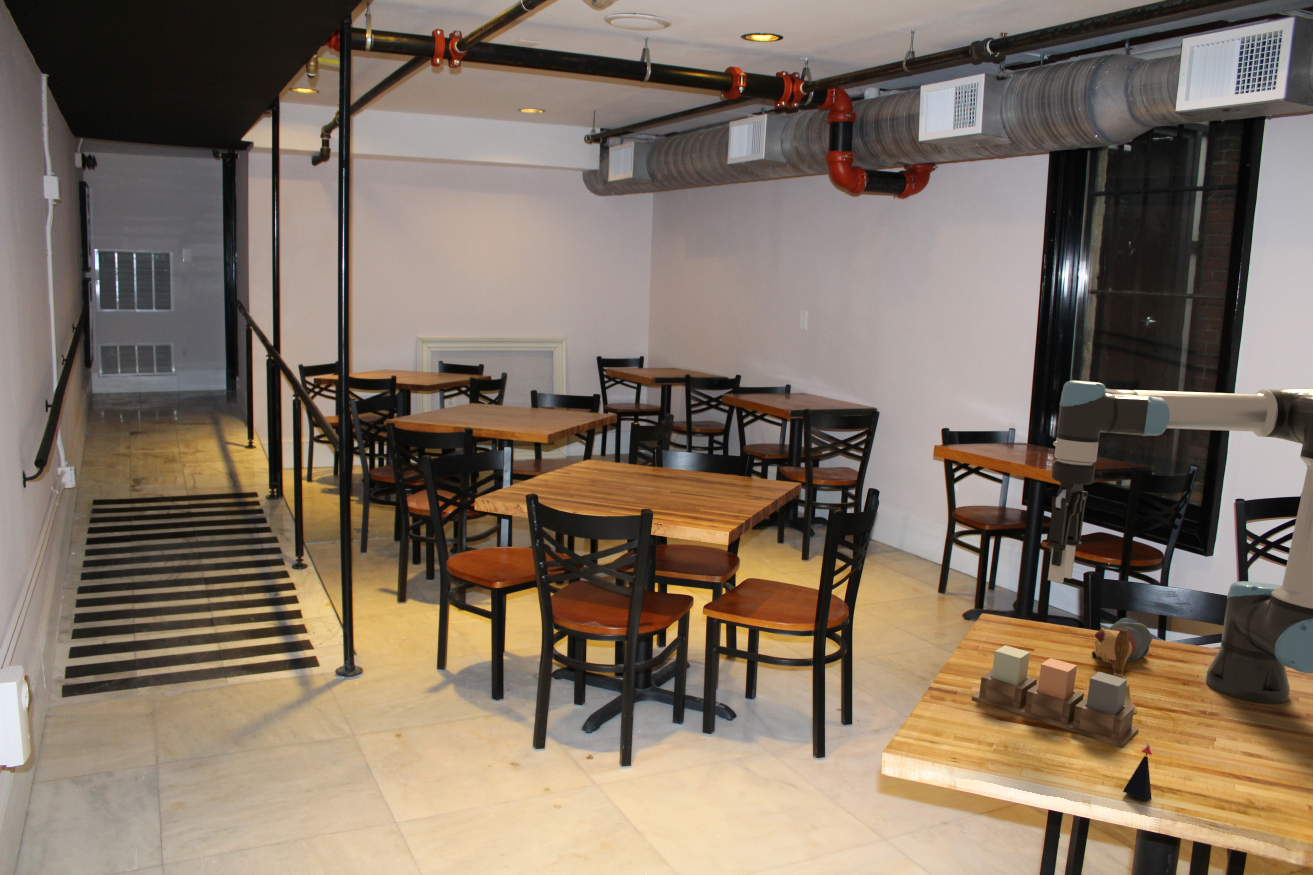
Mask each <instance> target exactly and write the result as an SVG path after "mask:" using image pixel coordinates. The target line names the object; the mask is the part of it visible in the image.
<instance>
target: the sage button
mask: <svg viewBox="0 0 1313 875" xmlns="http://www.w3.org/2000/svg"><path fill="white" fill-rule="evenodd" d="M1030 654H1031V652H1030V651H1027V650H1022V649H1020V648H1016V647H1013V646H1009V645H1002V646H1001V647H1000V648H997V649H996V650H995V651H994V655H993V656H994V657H993V663H992V664H993V665H992V670H993V672H992V678H994V679H997V680H1001V681H1004V682H1007V683H1010V684H1014V685H1017V686H1018V685H1020V684H1021V683H1023V682H1024V681H1026V680H1027V676H1028V671H1029V670H1028V669H1029V663H1030Z"/></svg>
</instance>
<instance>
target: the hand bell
mask: <svg viewBox="0 0 1313 875" xmlns="http://www.w3.org/2000/svg"><path fill="white" fill-rule="evenodd" d="M1114 650H1115V656H1116V662H1115V668H1114V669H1113V676H1116V677H1120V678H1123V679H1124V669H1125V668H1124V666H1125V665H1124V661H1125V658H1126V656H1127V654H1128V650H1129V637H1128V631H1127V629H1120V632H1119V634H1118V635H1117V637H1116V640H1115V646H1114ZM1130 693H1131V691H1130V682H1129V681H1128V680H1127V683H1126V691H1125V698H1124V705H1127V706H1130V707H1134V713H1133V716H1134V715H1136V713H1138V709H1137V707H1136V705H1135V704H1134V703H1133V701H1132V698H1131V694H1130Z"/></svg>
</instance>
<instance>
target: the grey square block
mask: <svg viewBox="0 0 1313 875" xmlns="http://www.w3.org/2000/svg"><path fill="white" fill-rule="evenodd" d="M1113 675H1114V674H1113ZM1113 675H1112V674H1110V673H1109V674H1108V673H1105V672H1101V671H1097V672H1096V673H1095V674H1094V675H1093V676H1091V677H1090V678H1089V686H1088V692H1087V696H1088V698H1087V706H1086V707H1089V708H1092V709H1096V710H1099V711H1102V712H1105V713H1109V714H1112V715H1115V716H1116V715H1118V714H1119V713H1120V712H1121V711H1122V710H1123V705H1124V698H1125V691H1126V683H1127V681H1128V679H1126V678H1124V677H1123V678H1120V677H1116V676H1113Z"/></svg>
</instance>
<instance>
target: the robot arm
mask: <svg viewBox="0 0 1313 875" xmlns="http://www.w3.org/2000/svg"><path fill="white" fill-rule="evenodd" d="M1058 412H1059V413H1058V420H1057V421H1058V422H1057V430H1056V431H1057V432H1056V437H1055V438H1056V440H1055V441H1053V443H1052V444H1053V446H1054V447H1055V449H1054V454H1053V455H1054V456H1053V457H1054V458H1055V459H1056V460H1054V461H1053V462H1052V470H1051V478H1052V480H1053V481H1055V482H1059V483H1060V485H1059V489H1058V490H1057V492H1056V494H1055V495H1056V496H1055V495H1053V496H1052V497H1051V515H1050V522H1049V532H1048V540H1047V544H1046V546H1047V548H1050V549H1051V552H1050V560H1049V568H1048V576H1047V581H1050V582H1055V583H1060V584H1063V583H1064V579H1069V580H1071V579H1073V572H1074V564H1075V557H1076V556H1075V555H1076V548H1077V547H1076V546H1079V547H1080V546H1081V545H1082V541H1081V539H1082V531H1083V522H1084V516H1085V509H1086V508H1085V507H1086V502H1087V500H1088V499H1087V498H1088V495H1089V492H1088V491H1085V490H1084V485H1085V486H1086V485H1087V486H1088V485H1092V484H1093V483H1094V479H1095V474H1096V473H1095V472H1096V471H1095V470H1096V466H1095V464H1094V463H1096V462H1097V461H1098V460H1097V458H1098V451H1099V449H1098V448H1099V441H1100V435H1101V433H1104V434H1108V433H1109V434H1121V435H1132V436H1133V435H1135V436H1142V437H1146V436H1150V437H1151V436H1152V437H1153V436H1160V435H1163V434H1164V432H1165V431H1166V429H1177V430H1178V429H1180V430H1181V429H1182V430H1202V431H1203V430H1205V431H1230V432H1231V431H1232V432H1235V431H1236V432H1253V433H1254V435H1256V436H1257V437H1261V438H1275V439H1279V440H1280V439H1282V440H1286V441H1289V442H1294V443H1297V444H1300V445H1301V451H1300V455H1299V456H1300V459H1301V460H1302V462H1303V463H1304V464H1305V466H1306V467H1307V468H1306V474H1305V477H1304V483H1303V486H1302V487H1303V488H1302V491H1301V497H1300V501H1299V504H1298V509H1297V513H1296V519H1295V524H1294V530H1293V533H1292V538H1291V542H1290V547H1289V552H1288V556H1287V562H1286V567H1285V570H1284V575H1283V576H1284V577H1283V580H1282V585H1280V584H1274V583H1267V582H1260V581H1259V582H1258V581H1245V580H1242V581H1235V582H1233V583H1232V584H1230V586H1229V589H1228V593H1227V597H1226V605H1225V606H1226V607H1225V614H1224V621H1223V629H1222V633H1221V634H1222V635H1221V640H1220V641H1221V642H1220V647H1219V650H1218V651H1217V653H1216V655H1215V656H1214V658H1213V660H1212V661H1211V663H1210V665H1209V667H1208V669H1207V671H1206V678H1205V682H1206V683H1207V684H1208V686H1209V687H1211V688H1212V689H1214V690H1216V691H1217V692H1220V693H1222V694H1225V695H1228V696H1230V697H1233V698H1235V699H1236V698H1237V699H1241V700H1245V701H1250V702H1256V703H1261V704H1283V703H1285V702H1288V701H1289V699H1290V697H1289V696H1290V691H1291V689H1290V688H1291V687H1290V683H1289V679H1288V674H1287V669H1286V667H1287V668H1289V669H1293V670H1294V671H1297V672H1299V673H1302V674H1309V675H1310V674H1313V387H1304V388H1292V389H1291V388H1290V389H1289V388H1287V389H1260V390H1259V391H1256V393H1254V394H1253V393H1230V392H1229V393H1226V392H1203V391H1202V392H1201V391H1200V392H1197V391H1196V392H1195V391H1171V390H1170V391H1169V390H1167V391H1166V390H1140V389H1139V390H1138V389H1133V390H1132V389H1131V390H1130V389H1114V388H1113V389H1111V388H1108V387H1106V385H1105V383H1101V382H1095V381H1086V380H1085V381H1084V380H1069V381H1066V382H1065V383H1064V384H1063V388H1062V391H1061V396H1060V401H1059V411H1058Z"/></svg>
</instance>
